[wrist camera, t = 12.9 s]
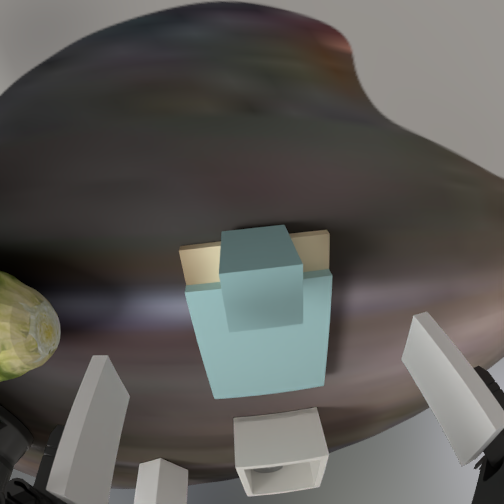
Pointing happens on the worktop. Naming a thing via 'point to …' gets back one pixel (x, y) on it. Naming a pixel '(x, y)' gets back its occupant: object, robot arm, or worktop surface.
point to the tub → (280, 451)
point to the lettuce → (25, 328)
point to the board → (208, 256)
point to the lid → (262, 317)
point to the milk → (161, 483)
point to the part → (268, 469)
